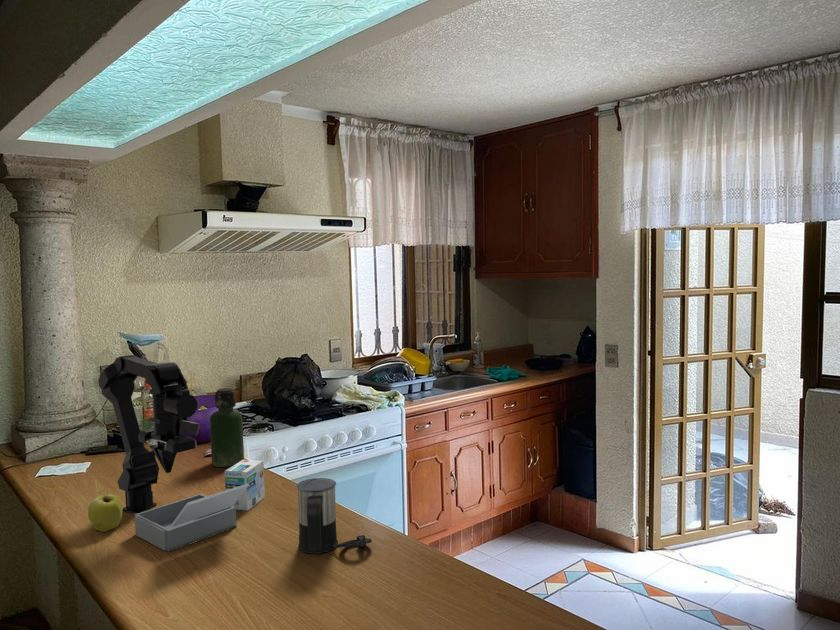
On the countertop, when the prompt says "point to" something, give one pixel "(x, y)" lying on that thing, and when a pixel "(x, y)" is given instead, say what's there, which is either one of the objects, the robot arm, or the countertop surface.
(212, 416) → the green bottle
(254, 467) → the light bulb box
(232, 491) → the grey box lid
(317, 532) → the milk frother
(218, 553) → the countertop surface
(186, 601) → the countertop surface
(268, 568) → the countertop surface
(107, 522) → the apple
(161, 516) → the grey shallow open box
